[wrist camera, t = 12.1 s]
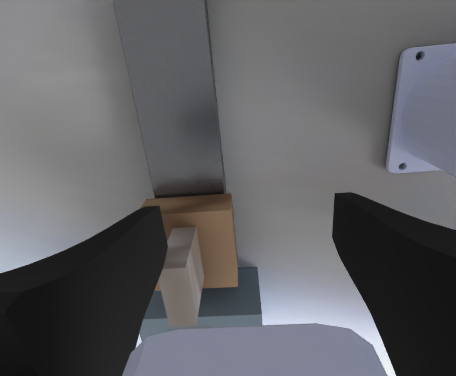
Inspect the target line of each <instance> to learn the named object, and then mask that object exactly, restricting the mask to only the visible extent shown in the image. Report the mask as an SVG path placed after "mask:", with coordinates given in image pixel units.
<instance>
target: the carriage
mask: <svg viewBox="0 0 456 376" xmlns="http://www.w3.org/2000/svg"><path fill="white" fill-rule="evenodd" d="M159 205H160V210H161V215H162V220H163V225H164V229H165V234H166V239H167V244H168V249H167V254H166V259H165V263H164V267H163V270H162V272H161V275H160V277H159V280H158V283H157V285H156V288H155V290H154V291H160V290H161V293H162V297H163V301H164V306H165V310H166V314H167V318H168V322H169V327H187V326H196V324H197V318H198V312H199V306H200V299H201V293H202V288H222V287H238V258H237V248H236V237H235V227H234V216H233V206H232V195H231V193H229V194H214V195H200V196H186V197H172V198H157V199H147V200H146V201H145V203H144V204H143V205H142V207H141V208H143V207H145V206H159ZM141 208H140V209H141Z"/></svg>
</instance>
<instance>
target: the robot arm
mask: <svg viewBox="0 0 456 376" xmlns="http://www.w3.org/2000/svg"><path fill="white" fill-rule="evenodd" d="M418 52H420V53H421V57H420V59H419V60H416V54H417V53H418ZM401 163H404V165H403V167H401V168H399V165H400V164H401ZM386 170H387V171H388V172H390V173H408V172H422V171H436V170H443V171H445V172H447V173H449V174H451V175H453V176H455V177H456V43H453V44H443V45H433V46H423V47H413V48H408V49H405V50H404V51H403V52H402V54H401V56H400V61H399V68H398V76H397V83H396V91H395V98H394V106H393V113H392V121H391V128H390V136H389V143H388V151H387V158H386ZM332 238H333V241H334V243H335V246H336V249H337V251H338V254H339V256H340V258H341V260H342V262H343V264H344V266H345V268H346V269H347V271H348V273H349V275H350V277H351V278H352V280H353V282H354V284H355V285H356V287H357V289H358V291H359V293H360V294H361V296H362V298H363V300H364V301H365V303H366V305H367V307H368V309H369V311H370V313H371V315H372V317H373V320H374V322H375V324H376V327H377V329H378V331H379V334H380V336H381V338H382V341H383V343H384V346H385V348H386V351H387V353H388V356H389V358H390V361H391V363H392V366H393V368H394V371H395V374H396V376H456V230H453V229H450V228H446V227H443V226H440V225H436V224H433V223H429V222H426V221H423V220H420V219H418V218H415V217H412V216H409V215H407V214H404V213H401V212H399V211H396V210H394V209H391V208H389V207H387V206H384V205H382V204H380V203H377V202H375V201H372V200H370V199H368V198H365V197H363V196H360V195H358V194H355V193H351V192H349V193H335V199H334V215H333V232H332ZM167 249H168V244H167V239H166V234H165V229H164V225H163V220H162V215H161V210H160V205H159V206H145V207H143V208H141V209H139V210H137V211H135V212H133V213H132V214H130V215H128V216H127V217H125V218H124V219H122V220H120V221H119V222H117V223H115V224H114V225H112V226H110V227H109V228H107V229H105V230H103V231H102V232H100V233H98V234H96V235H95V236H93V237H91V238H89V239H87V240H85V241H83V242H81V243H79V244H77V245H75V246H73V247H71V248H69V249H67V250H64V251H62V252H60V253H57V254H55V255H52V256H50V257H47V258H44V259H42V260H39V261H37V262H34V263H31V264H29V265H26V266H23V267H20V268H17V269H13V270H10V271H7V272H4V273H0V376H387V374H386V372H385V370H384V368H383V366H382V364H381V361H380V359H379V357H378V355H377V353H376V351H375V349H374V347H373V345H372V344H370V343H369V342H368V341H366V340H365V339H363V338H362V337H361V336H359V335H358V334H357V333H355V332H354V331H352V330H351V329H347V328H342V327H336V326H329V325H323V324H316V323H315V324H289V325H263V326H238V327H212V328H186V329H176V330H172V331H168V332H164V333H160V334H156V335H152V336H149V337H147V338H146V339H145V340H144V341H143V342H142V343H141V344H140V345H139V346H138V347H137V348H136V349H135V347H136V344H137V340H138V336H139V332H140V329H141V325H142V322H143V319H144V316H145V313H146V310H147V308H148V305H149V303H150V300H151V298H152V295H153V293H154V290H155V288H156V285H157V283H158V280H159V277H160V275H161V272H162V270H163V267H164V263H165V259H166V254H167Z"/></svg>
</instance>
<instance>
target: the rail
mask: <svg viewBox="0 0 456 376" xmlns="http://www.w3.org/2000/svg"><path fill="white" fill-rule="evenodd" d="M113 2H114V7H115V12H116V17H117V21H118V26H119V31H120V35H121V40H122V45H123V49H124V54H125V59H126V64H127V68H128V73H129V78H130V82H131V87H132V92H133V97H134V101H135V106H136V111H137V115H138V120H139V125H140V130H141V134H142V139H143V144H144V148H145V153H146V158H147V162H148V167H149V172H150V177H151V181H152V186H153V191H154V195H155V199H157V198H172V197H186V196H200V195H214V194H226V187H225V177H224V167H223V158H222V148H221V138H220V128H219V119H218V109H217V99H216V90H215V80H214V70H213V61H212V51H211V41H210V31H209V22H208V12H207V2H206V0H113Z"/></svg>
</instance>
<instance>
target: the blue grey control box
mask: <svg viewBox="0 0 456 376" xmlns="http://www.w3.org/2000/svg"><path fill="white" fill-rule="evenodd" d="M238 326H262V312H261V302H260V291H259V281H258V271H257V267H256V268H238V287H222V288H202V293H201V299H200V306H199V312H198V318H197V324H196V326H187V327H169V322H168V318H167V314H166V310H165V306H164V301H163V297H162V293H161V290H160V291H154V293H153V295H152V298H151V300H150V303H149V305H148V308H147V310H146V313H145V316H144V319H143V322H142V325H141V329H140V332H139V333H140V337H141V340H142V342H143V341H144V340H145V339H146V338H147V337H149V336H152V335H156V334H160V333H164V332H168V331H172V330H176V329H186V328H212V327H238Z"/></svg>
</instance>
